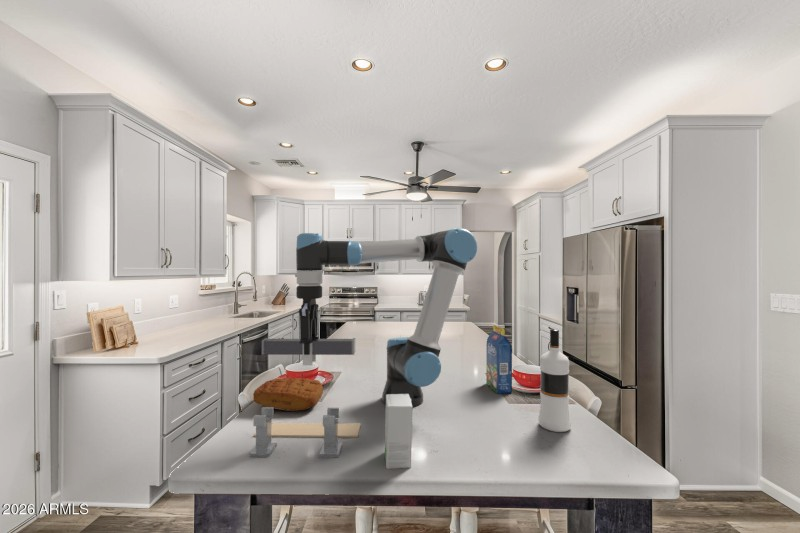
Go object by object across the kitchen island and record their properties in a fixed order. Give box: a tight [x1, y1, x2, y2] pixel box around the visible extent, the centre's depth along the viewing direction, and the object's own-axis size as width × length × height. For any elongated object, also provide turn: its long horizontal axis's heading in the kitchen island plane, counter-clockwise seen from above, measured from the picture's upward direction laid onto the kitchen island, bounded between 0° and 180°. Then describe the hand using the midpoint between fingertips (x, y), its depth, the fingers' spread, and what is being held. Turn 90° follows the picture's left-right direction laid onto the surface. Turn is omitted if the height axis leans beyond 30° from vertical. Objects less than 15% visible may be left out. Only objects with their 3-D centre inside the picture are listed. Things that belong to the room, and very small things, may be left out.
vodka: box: [537, 328, 572, 433], centre depth 111 cm, size 9×9×30 cm
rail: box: [261, 337, 356, 356], centre depth 108 cm, size 27×4×4 cm, turn 90°
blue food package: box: [485, 324, 513, 394], centre depth 146 cm, size 6×12×25 cm, turn 6°
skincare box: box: [384, 394, 414, 470], centre depth 92 cm, size 8×7×16 cm
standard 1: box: [249, 406, 278, 458], centre depth 96 cm, size 5×6×10 cm
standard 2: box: [318, 407, 343, 458], centre depth 96 cm, size 5×6×10 cm
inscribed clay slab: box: [252, 377, 324, 412], centre depth 128 cm, size 22×17×8 cm
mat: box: [253, 422, 361, 438], centre depth 108 cm, size 30×8×1 cm, turn 89°
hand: (309, 362), depth 108 cm, fingers closed on rail, 3 cm apart
